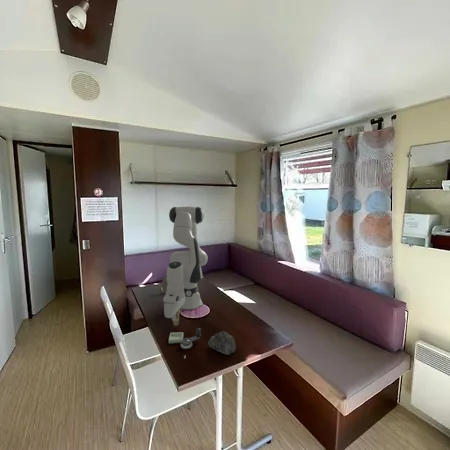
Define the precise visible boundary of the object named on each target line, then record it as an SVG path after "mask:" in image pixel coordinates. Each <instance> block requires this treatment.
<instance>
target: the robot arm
mask: <svg viewBox="0 0 450 450" xmlns="http://www.w3.org/2000/svg"><path fill="white" fill-rule="evenodd" d="M168 217H169V220H170V222H171V223H173V229H172V237H173V239H174V241H175V242H176V243H178V244H180V245H182V246H184V247H186V248H188V249H189V250H184V251H183V250H182V251H181V250H180V251H179V250H178V251H175V252H173V253H171V254H170V258H169V263H168V264H167V269H166V277H167V283H168V285H167V292H166V293H164V296H163V299H162V301H163V303H164V304H163V313H164V314H163V315H164V317H165V318H167V319H171V320H172V322H173V321H175V320H176V316H175V315H176V312H177V311H178V309H179V308H180V309H182V310H194V309H197V308H199V307H202V306H204V305H203V304H204V303H203V301H202V299H201V294H200V292H199V286H198V284H199V282H200V281H201V280H202V279H203V270H202V267H203V266H205V265H207V263H208V258H209V257H208V254H207V252H205V251H204V250H202V248H201V247H200V246H199V241H198V228H197V226H198V225H199V224H200V223H202V222H203V220H204V217H205V213H204V210H203V207H199V206H196V207H195V206H189V205H188V206H173V207H171V209H169V213H168ZM180 312H181V310H180V311H179V314H180Z"/></svg>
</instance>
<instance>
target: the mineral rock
mask: <svg viewBox="0 0 450 450" xmlns="http://www.w3.org/2000/svg"><path fill="white" fill-rule="evenodd" d="M207 344H208V346H209V347H210V348H211V349H213V350H215V351H217V353H218V352H220V353H221V354H224V355H228V356H231V355H232V354H234V353H235V351H236V348H237V347H236V341H235V338H234V337H233V336H232V335H231V334H229V333H228V332H227V331H224V330H223V331H220V332H217V333H215V334H214V335H211V336H210V339H208V342H207Z"/></svg>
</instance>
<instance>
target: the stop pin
mask: <svg viewBox="0 0 450 450" xmlns="http://www.w3.org/2000/svg"><path fill="white" fill-rule="evenodd" d="M179 311H180V312H181V308H179V309H178V311H177V312H176V315H175V316H176V320H175V321H173V320H172V323H173V324H172V325H173V326H174V327H177V326H179V324H180V313H179Z"/></svg>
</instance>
